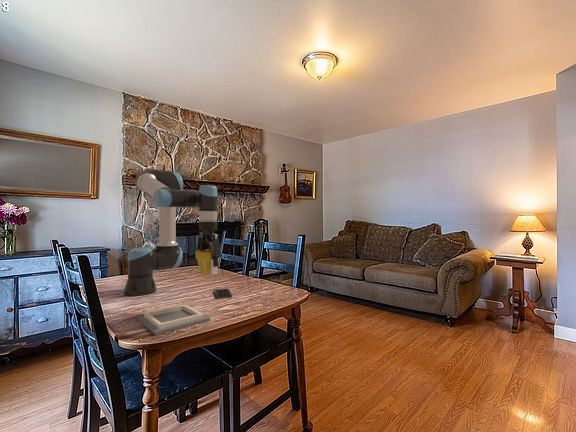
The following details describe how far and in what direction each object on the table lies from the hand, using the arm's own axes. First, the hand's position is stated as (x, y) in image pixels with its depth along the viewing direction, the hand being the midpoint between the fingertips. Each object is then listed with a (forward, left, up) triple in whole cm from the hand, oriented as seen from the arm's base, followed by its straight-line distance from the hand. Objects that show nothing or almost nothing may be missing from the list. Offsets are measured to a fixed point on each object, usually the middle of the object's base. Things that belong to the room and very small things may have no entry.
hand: (208, 272), depth 127 cm
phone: (-16, +16, -16) cm, 28 cm away
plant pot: (0, 0, -1) cm, 1 cm away
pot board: (+4, -17, -16) cm, 23 cm away
